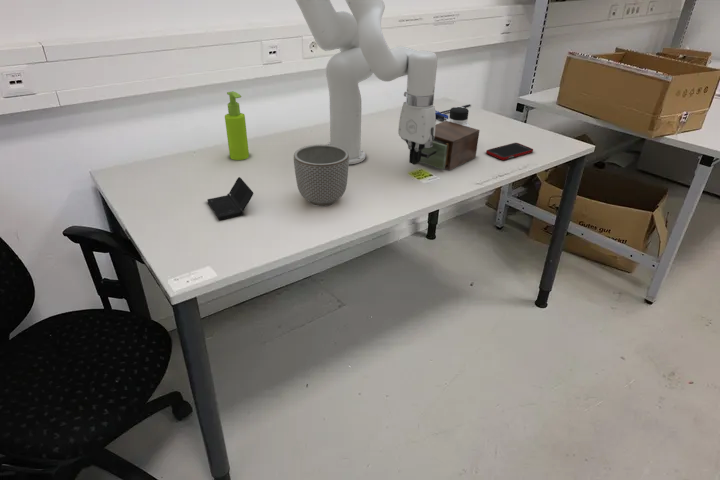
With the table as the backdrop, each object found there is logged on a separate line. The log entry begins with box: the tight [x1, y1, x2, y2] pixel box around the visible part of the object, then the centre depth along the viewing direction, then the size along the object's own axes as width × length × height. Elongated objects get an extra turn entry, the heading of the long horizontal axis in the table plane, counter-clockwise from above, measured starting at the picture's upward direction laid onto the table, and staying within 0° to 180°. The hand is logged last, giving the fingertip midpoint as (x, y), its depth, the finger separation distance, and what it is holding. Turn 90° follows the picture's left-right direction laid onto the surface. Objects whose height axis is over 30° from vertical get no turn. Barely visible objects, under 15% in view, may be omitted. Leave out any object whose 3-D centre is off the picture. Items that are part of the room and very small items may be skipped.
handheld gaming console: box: [207, 176, 255, 221], centre depth 123 cm, size 12×7×10 cm
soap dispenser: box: [224, 91, 250, 161], centre depth 148 cm, size 6×7×20 cm
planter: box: [293, 143, 350, 207], centre depth 125 cm, size 14×14×13 cm
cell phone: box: [485, 142, 534, 161], centre depth 160 cm, size 8×15×1 cm, turn 123°
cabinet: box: [434, 120, 481, 171], centre depth 153 cm, size 15×13×9 cm
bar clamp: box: [435, 104, 472, 121], centre depth 195 cm, size 32×2×10 cm
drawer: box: [419, 140, 451, 170], centre depth 149 cm, size 18×11×7 cm, turn 137°
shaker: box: [434, 138, 448, 145], centre depth 150 cm, size 4×4×6 cm
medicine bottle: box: [445, 106, 471, 127], centre depth 164 cm, size 7×7×12 cm
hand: (414, 162), depth 143 cm, fingers closed
